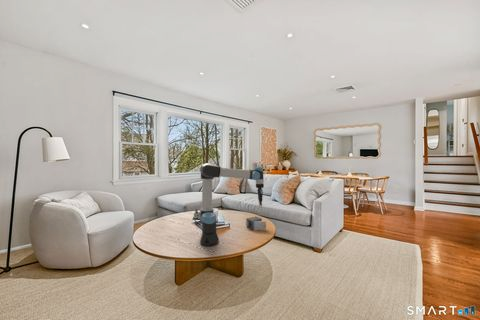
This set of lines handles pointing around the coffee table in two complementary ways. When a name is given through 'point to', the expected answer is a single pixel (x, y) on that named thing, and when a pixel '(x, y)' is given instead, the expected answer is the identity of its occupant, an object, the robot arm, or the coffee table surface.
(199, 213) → the sign
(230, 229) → the coffee table surface
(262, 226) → the side door
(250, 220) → the camera body
